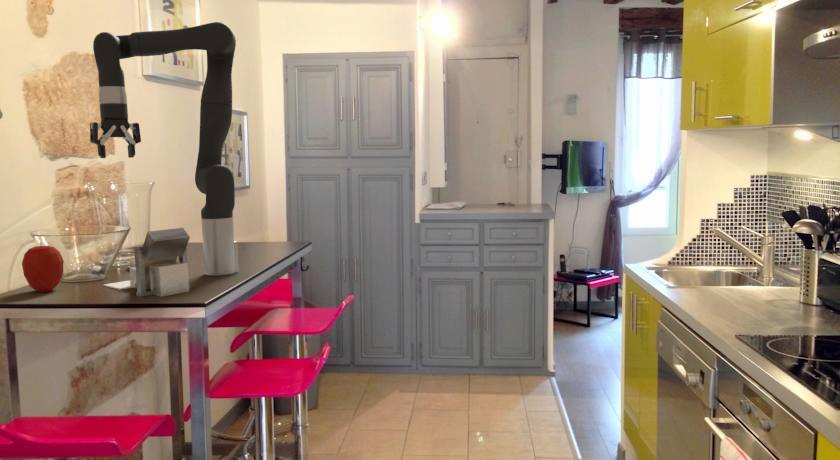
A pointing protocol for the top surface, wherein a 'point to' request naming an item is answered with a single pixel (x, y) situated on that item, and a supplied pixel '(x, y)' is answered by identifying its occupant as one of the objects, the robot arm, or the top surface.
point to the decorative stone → (132, 263)
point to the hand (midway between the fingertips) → (117, 157)
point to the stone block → (132, 276)
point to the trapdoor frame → (162, 276)
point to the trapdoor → (162, 248)
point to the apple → (43, 268)
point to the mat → (119, 285)
